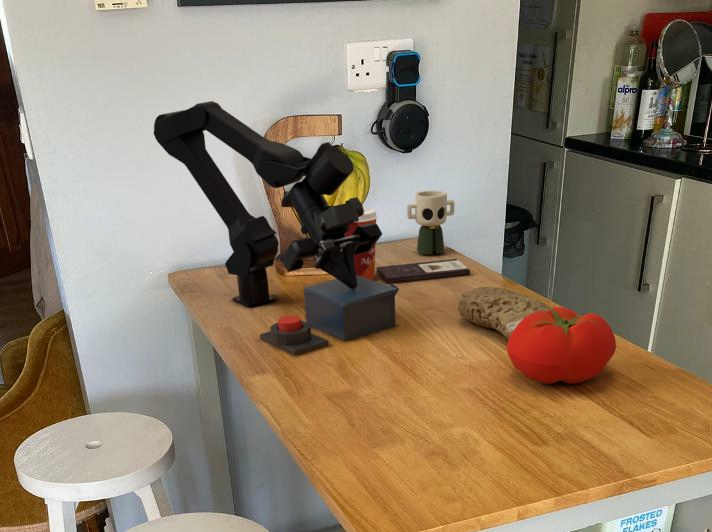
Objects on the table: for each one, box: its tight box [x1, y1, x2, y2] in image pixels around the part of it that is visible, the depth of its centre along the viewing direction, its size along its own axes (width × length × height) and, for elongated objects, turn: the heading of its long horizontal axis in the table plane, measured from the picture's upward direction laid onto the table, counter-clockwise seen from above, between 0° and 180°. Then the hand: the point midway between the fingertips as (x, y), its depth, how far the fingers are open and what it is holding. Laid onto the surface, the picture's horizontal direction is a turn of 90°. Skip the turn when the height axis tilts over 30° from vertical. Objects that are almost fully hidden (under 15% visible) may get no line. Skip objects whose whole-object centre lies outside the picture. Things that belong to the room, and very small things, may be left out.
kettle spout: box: [389, 283, 400, 296], centre depth 152 cm, size 2×5×5 cm, turn 128°
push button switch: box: [259, 320, 329, 357], centre depth 145 cm, size 11×7×3 cm
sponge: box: [456, 286, 551, 341], centre depth 145 cm, size 13×8×20 cm
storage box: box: [303, 291, 396, 342], centre depth 150 cm, size 12×12×6 cm
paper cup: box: [344, 206, 379, 281], centre depth 172 cm, size 8×8×14 cm
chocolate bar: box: [375, 258, 471, 284], centre depth 177 cm, size 9×1×18 cm
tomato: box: [506, 306, 617, 385], centre depth 126 cm, size 14×16×10 cm
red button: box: [277, 315, 302, 332], centre depth 144 cm, size 4×4×2 cm
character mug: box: [406, 190, 455, 255], centre depth 188 cm, size 11×7×13 cm, turn 101°
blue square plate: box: [303, 275, 398, 307], centre depth 148 cm, size 12×12×1 cm
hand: (354, 287), depth 147 cm, fingers closed
